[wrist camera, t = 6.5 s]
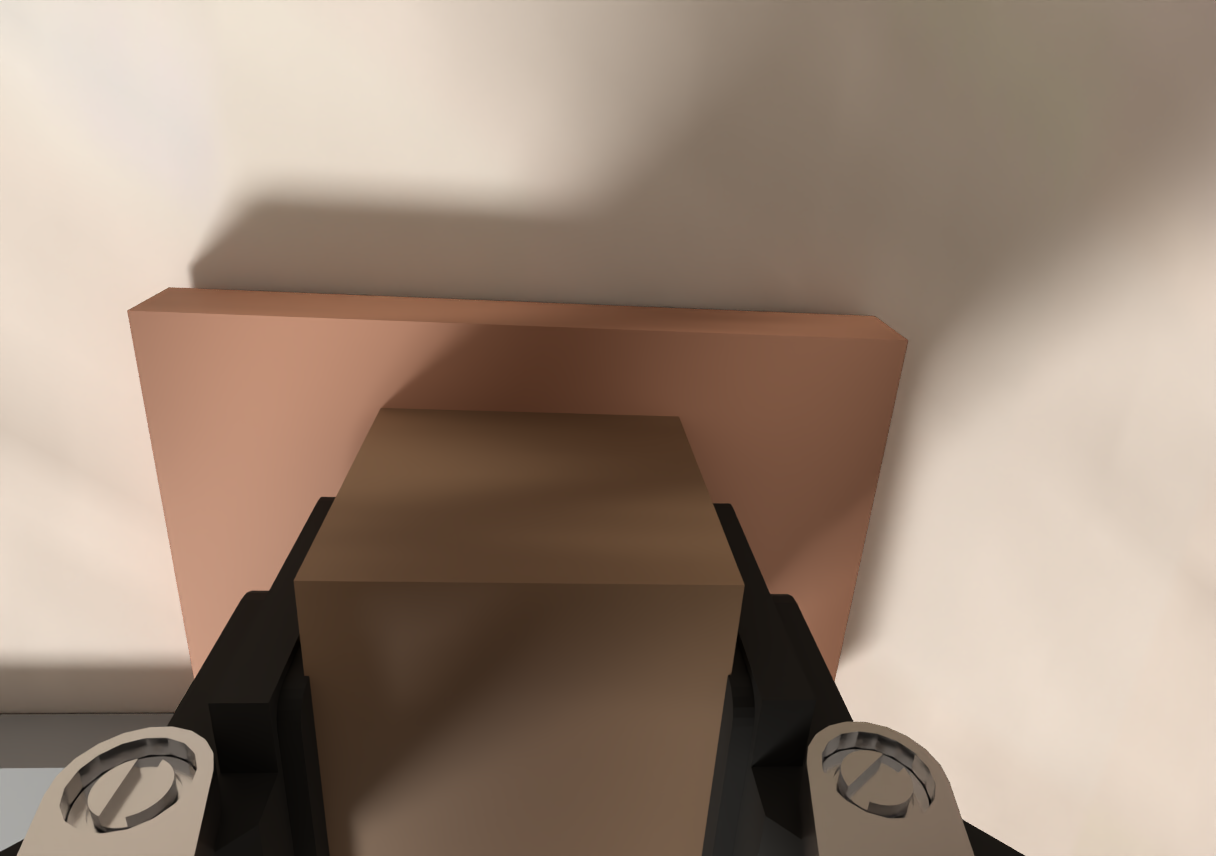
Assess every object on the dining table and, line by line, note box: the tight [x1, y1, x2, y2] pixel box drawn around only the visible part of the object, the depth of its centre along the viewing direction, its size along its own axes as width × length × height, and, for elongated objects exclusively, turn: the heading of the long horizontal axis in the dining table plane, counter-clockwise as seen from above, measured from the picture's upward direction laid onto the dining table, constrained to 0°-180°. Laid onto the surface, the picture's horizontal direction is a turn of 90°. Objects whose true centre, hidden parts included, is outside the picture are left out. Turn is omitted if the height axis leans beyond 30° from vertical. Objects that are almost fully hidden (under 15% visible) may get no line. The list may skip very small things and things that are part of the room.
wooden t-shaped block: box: [127, 287, 908, 856], centre depth 11 cm, size 10×7×5 cm
